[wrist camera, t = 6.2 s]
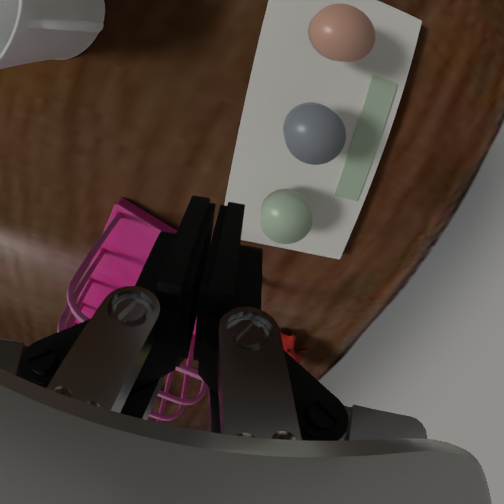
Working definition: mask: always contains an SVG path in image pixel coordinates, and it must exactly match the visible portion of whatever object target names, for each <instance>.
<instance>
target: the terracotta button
mask: <svg viewBox="0 0 504 504" xmlns="http://www.w3.org/2000/svg"><path fill="white" fill-rule="evenodd" d="M308 36H309V40H310V42H311V44H312V46H313V47H314V49H315V50H316V51H317V52H318V53H319V54H320V55H322V56H323V57H325V58H327V59H330V60H333V61H340V62H352V61H357V60H360V59H362V58H364V57H365V56H366V55H368V54H369V53H370V51H371V50H372V48H373V46H374V43H375V30H374V27H373V24H372V22H371V21H370V19H369V18H368V17H367V15H366V14H365V13H363V12H362V11H361V10H359V9H358V8H356V7H354V6H351V5H348V4H332V5H329V6H326V7H324V8H323V9H321V10H320V11H319V12H318V13H317V14H316V15H315V16H314V17H313V18H312V19H311V21H310V24H309V27H308Z"/></svg>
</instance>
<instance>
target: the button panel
mask: <svg viewBox="0 0 504 504" xmlns="http://www.w3.org/2000/svg"><path fill="white" fill-rule="evenodd" d="M332 4H348V5H351V6H354V7H356V8H358V9H359V10H361V11H362V12H363V13H365V14H366V15H367V17H368V18H369V19H370V21H371V22H372V24H373V27H374V30H375V43H374V46H373V48H372V50H371V51H370V53H369V54H368V55H366V56H365V57H364V58H362V59H360V60H357V61H352V62H340V61H333V60H330V59H327V58H325V57H323V56H322V55H320V54H319V53H318V52H317V51H316V50H315V49H314V47H313V46H312V44H311V42H310V40H309V36H308V27H309V24H310V21H311V19H312V18H313V17H314V16H315V15H316V14H317V13H318V12H319V11H320V10H321V9H323V8H324V7H326V6H329V5H332ZM421 23H422V21H421V20H419V19H417V18H415V17H413V16H411V15H409V14H407V13H405V12H402V11H400V10H398V9H396V8H394V7H391V6H389V5H387V4H384V3H382V2H380V1H377V0H269V1H268V5H267V9H266V13H265V17H264V21H263V25H262V29H261V33H260V38H259V42H258V46H257V50H256V55H255V59H254V63H253V68H252V72H251V76H250V81H249V85H248V90H247V95H246V99H245V104H244V108H243V113H242V118H241V123H240V127H239V132H238V137H237V142H236V147H235V152H234V157H233V162H232V167H231V172H230V177H229V182H228V188H227V193H226V198H225V204H224V205H225V206H227V205H228V202H234V203H239V204H245V210H244V218H243V225H242V233H241V240H245V241H250V242H255V243H260V244H265V245H270V246H275V247H280V248H285V249H290V250H295V251H300V252H305V253H310V254H315V255H320V256H325V257H330V258H335V259H340V258H341V255H342V253H343V251H344V249H345V246H346V244H347V242H348V239H349V237H350V235H351V232H352V230H353V228H354V225H355V223H356V220H357V218H358V215H359V213H360V211H361V208H362V206H363V203H364V201H365V198H366V196H367V193H368V190H369V188H370V185H371V183H372V180H373V177H374V175H375V172H376V169H377V167H378V164H379V161H380V159H381V156H382V153H383V150H384V147H385V145H386V142H387V139H388V136H389V133H390V130H391V127H392V124H393V121H394V118H395V115H396V112H397V109H398V106H399V103H400V99H401V96H402V93H403V90H404V86H405V83H406V80H407V76H408V73H409V69H410V66H411V62H412V58H413V55H414V51H415V47H416V43H417V39H418V35H419V31H420V27H421ZM308 102H314V103H320V104H323V105H325V106H327V107H328V108H330V109H331V110H332V111H333V112H335V113H336V114H337V115H338V116H339V117H340V119H341V120H342V122H343V124H344V126H345V130H346V141H345V145H344V147H343V149H342V151H341V152H340V154H339V155H338V156H337V157H336V158H334V159H333V160H331V161H330V162H327V163H324V164H320V165H311V164H307V163H304V162H301V161H300V160H298V159H297V158H295V157H294V156H293V155H292V154H291V152H290V151H289V149H288V148H287V145H286V142H285V137H284V133H283V126H284V121H285V119H286V117H287V115H288V114H289V112H290V111H291V110H292V109H293V108H295V107H296V106H298V105H300V104H303V103H308ZM279 189H292V190H295V191H298V192H299V193H301V194H302V195H303V196H304V197H305V198H306V199H307V201H308V203H309V206H310V210H311V214H312V220H313V222H312V227H311V230H310V231H309V233H308V234H307V235H306V236H305V237H304V238H303V239H302V240H300V241H298V242H295V243H291V244H280V243H276V242H274V241H272V240H270V239H269V238H268V237H267V236H266V235H265V234H264V233H263V231H262V228H261V224H260V219H261V206H262V203H263V201H264V199H265V198H266V197H267V196H268V195H269V194H270V193H272V192H274V191H276V190H279Z"/></svg>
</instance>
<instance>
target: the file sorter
mask: <svg viewBox="0 0 504 504" xmlns="http://www.w3.org/2000/svg"><path fill="white" fill-rule="evenodd" d="M161 231H165V232H171V233H177V230H175V229H173V228H172V227H170V226H169V225H167V224H165V223H164V222H162V221H160V220H159V219H157V218H155V217H154V216H152V215H150V214H149V213H147V212H146V211H144V210H142V209H141V208H139V207H137V206H136V205H134V204H133V203H131V202H129V201H128V200H126V199H124V198H120V199H119V201H118V202H117V203H116V204H115V206H114V208H113V210H112V213H111V215H110V217H109V220H108V222H107V224H106V226H105V229H104V231H103V234H102V235H101V237H100V238H99V239H98V241H97V242H96V244H95V245H94V246H93V248H92V249H91V251H90V252H89V254H88V255H87V257H86V258H85V260H84V261H83V263H82V264H81V266H80V267H79V269H78V270H77V272H76V274H75V275H74V277H73V279H72V280H71V282H70V285H69V287H68V291H67V301H68V304H67V306H66V308H65V310H64V311H63V314H62V316H61V318H60V320H59V323H58V332H60V331H62V330H65V329H67V328H70V327H72V326H74V325H77V324H79V323H81V322H84V321H86V320H88V319H91V317H92V316H93V315H94V313H95V312H96V310H97V309H98V307H99V306H100V304H101V303H102V302H103V300H104V299H105V298H106V297H107V296H108V294H109V293H110V292H112V291H114V290H116V289H118V288H121V287H125V286H135V285H136V282H137V280H138V278H139V276H140V273H141V271H142V269H143V267H144V265H145V263H146V260H147V258H148V256H149V254H150V252H151V250H152V248H153V245H154V243H155V241H156V239H157V237H158V235H159V233H160V232H161ZM90 262H91V264H90ZM89 264H90V267H89V269H88V271H87V273H86V275H85V276H84V278H83V279H82V281H81V282H80V284H79V286H78V287H77V289H76V291H75V292H74V290H75V288H76V286H77V284H78V282H79V280H80V279H81V277H82V275H83V273H84V272H85V270H86V269H87V267H88V266H89ZM79 294H80V295H79ZM78 296H79V298H78ZM77 298H78V301H77V304H75V301H76V299H77ZM70 310H71V311H72V313H71V315H70V317H69V319H68V321H67V323H66V325H65V327H64V329H63V325H64V322H65V320H66V318H67V316H68V314H69V312H70ZM196 321H197V318H196ZM195 332H196V322H195V327H194V332H193V337H192V341H191V346H190V351H189V356H188V359H187V363H186V365H183V364H181V363H180V366H179V367H176V369H175V370H177V371H180V372H182V373H185V376H184V382H183V388H182V394H181V398H180V397H177V396H174V395H171V394H169V393H168V391H169V387H170V383H171V379H172V375H173V371H172V372H170V373H168V377H167V381H166V386H165V390H164V391H161V390H159V393H158V395H157V396H159V397H162V402H161V406H160V410H159V414H158V413H155V412H153V407H154V404H153V407H152V409H151V412H150V414H149V417H148V419H147V420H149V421H150V419H151V417H153V418H156V419H157V420H156V422H158V423H160V422H161V420H165V421H168V420H173V419H175V418H177V417H178V416H180V415H181V414H182V412H183V410H184V407H185V405H191V404H194V403H196V402H198V401H199V400H201V399H202V398H203V397H204V395H205V393H206V390H207V384H206V383H205V382H204V381H203V379H202V378H201V377H200V376H199V375H198V370H196V369H193V368H191V363H192V357H193V350H194V343H195ZM190 376H192V377H195V378H197V379H200V380H202V384H201V389H200V392H199V394H198V395H197V396H196V397H194V398H191V399H186V396H187V390H188V383H189V377H190ZM166 400H170V401H172V402H175V403H178V404H180V405H179V408H178V410H177V412H176V413H174V414H173V415H163V412H164V408H165V404H166ZM154 403H155V402H154Z"/></svg>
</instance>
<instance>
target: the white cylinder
mask: <svg viewBox="0 0 504 504" xmlns="http://www.w3.org/2000/svg"><path fill="white" fill-rule="evenodd" d="M104 17H105V2H104V0H0V69H3V68H8V67H12V66H17V65H21V64H26V63H32V62H37V61H43V60H50V59H56V60H66V59H70V58H73V57H75V56H77V55H79V54H81V53H82V52H83V51H85V50H86V49H87V48H88V47H89V46H90V45H91V44H92V43H93V41H94V40H95V39H96V37H97V35H98V34H99V32H100V31H101V30H102V29H103V26H104V24H103V22H104Z"/></svg>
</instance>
